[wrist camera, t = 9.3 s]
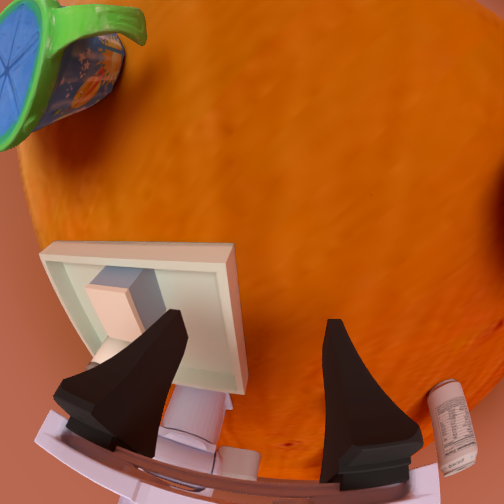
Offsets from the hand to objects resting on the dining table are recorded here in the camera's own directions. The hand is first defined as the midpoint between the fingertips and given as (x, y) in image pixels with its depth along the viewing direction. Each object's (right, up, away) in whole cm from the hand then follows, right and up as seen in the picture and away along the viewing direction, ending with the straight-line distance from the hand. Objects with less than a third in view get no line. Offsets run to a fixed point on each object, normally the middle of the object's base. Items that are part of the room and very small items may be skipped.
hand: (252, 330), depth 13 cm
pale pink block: (-11, +1, +13) cm, 17 cm away
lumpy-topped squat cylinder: (-3, -46, +40) cm, 61 cm away
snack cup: (-13, +19, +3) cm, 24 cm away
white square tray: (-12, -3, +16) cm, 20 cm away
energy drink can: (+30, -17, +17) cm, 38 cm away
